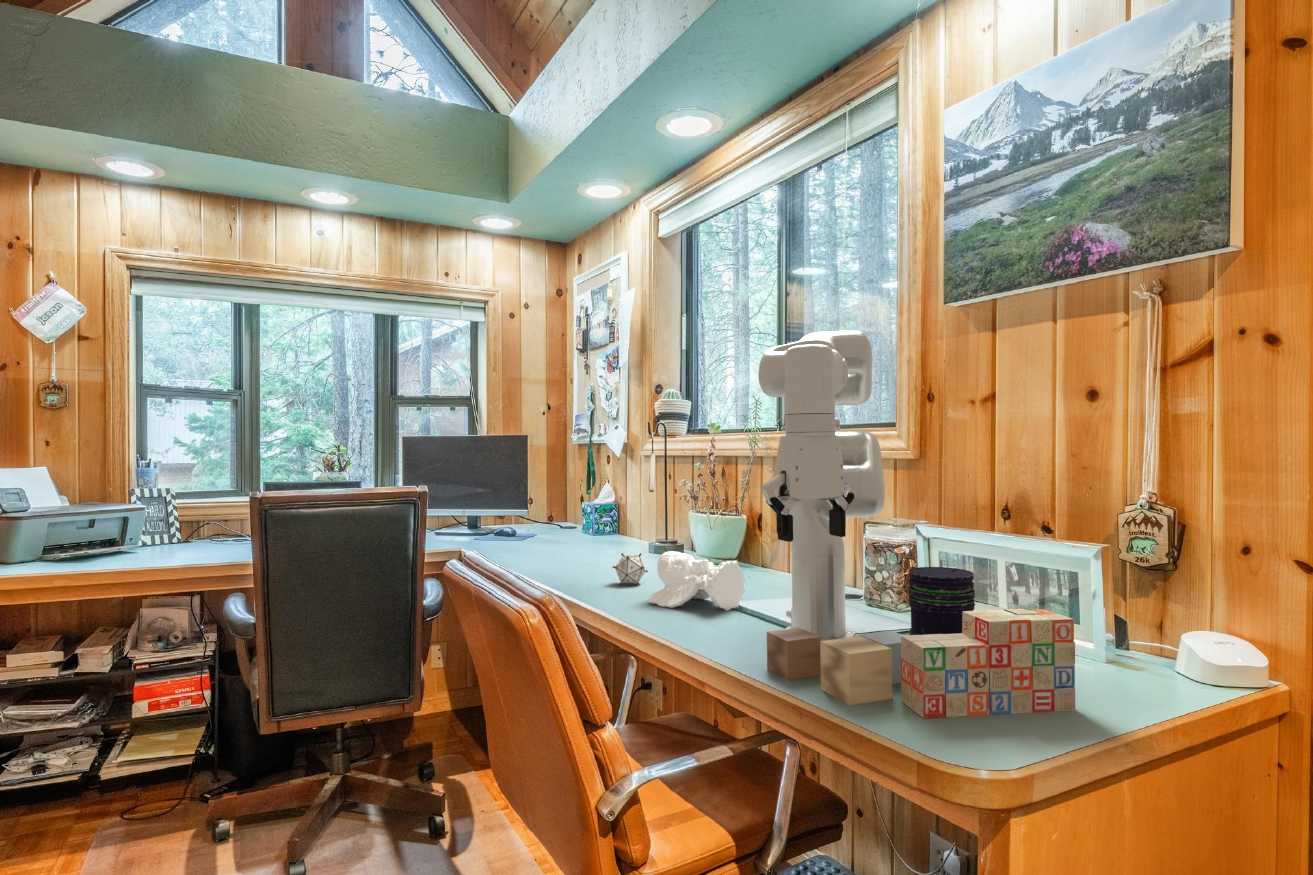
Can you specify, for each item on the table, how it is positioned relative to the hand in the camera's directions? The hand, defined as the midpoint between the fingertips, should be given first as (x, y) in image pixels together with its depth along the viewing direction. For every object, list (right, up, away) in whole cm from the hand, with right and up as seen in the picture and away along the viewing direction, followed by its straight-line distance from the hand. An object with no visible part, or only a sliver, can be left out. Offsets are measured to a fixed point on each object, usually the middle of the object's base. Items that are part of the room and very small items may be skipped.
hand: (811, 538), depth 109 cm
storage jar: (+22, -21, +4) cm, 30 cm away
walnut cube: (-2, -21, +2) cm, 21 cm away
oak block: (+4, -21, -8) cm, 23 cm away
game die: (-31, -23, +74) cm, 84 cm away
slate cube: (+12, -21, -1) cm, 24 cm away
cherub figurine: (-15, -22, +50) cm, 57 cm away
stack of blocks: (+21, -21, -13) cm, 32 cm away
